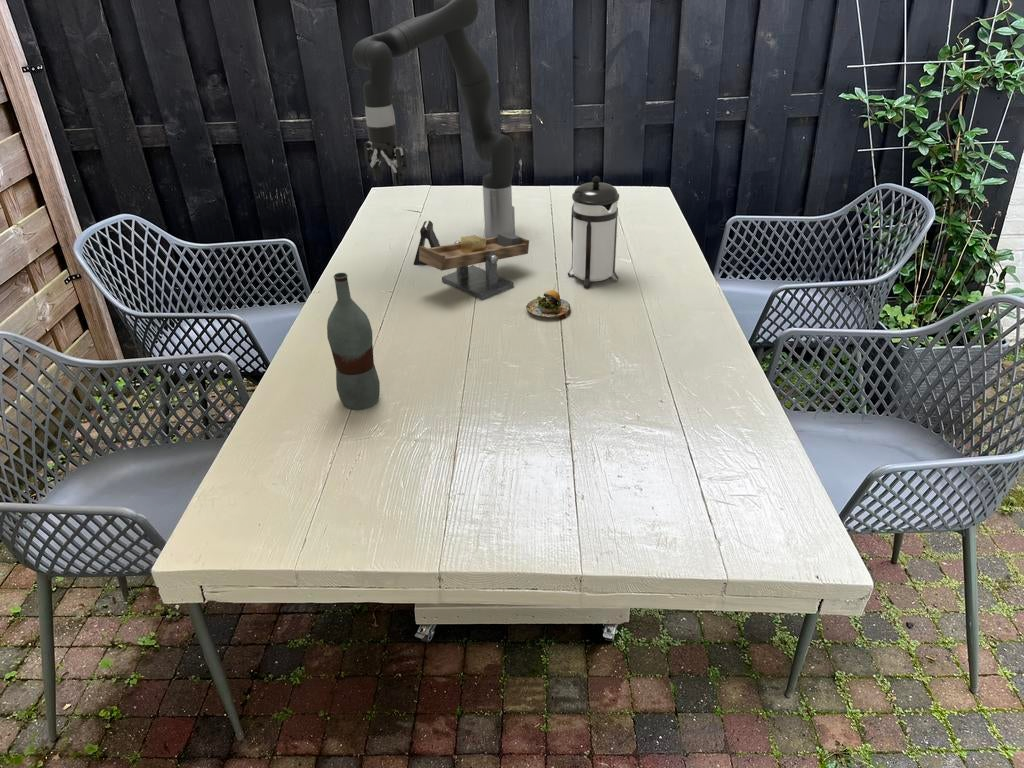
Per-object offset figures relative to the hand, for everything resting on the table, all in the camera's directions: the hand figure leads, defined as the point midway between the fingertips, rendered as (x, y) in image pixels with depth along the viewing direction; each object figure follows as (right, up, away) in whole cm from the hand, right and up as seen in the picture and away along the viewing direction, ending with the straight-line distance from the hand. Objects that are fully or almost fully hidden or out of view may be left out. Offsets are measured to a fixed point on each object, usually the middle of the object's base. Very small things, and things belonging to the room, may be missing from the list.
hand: (388, 182), depth 206 cm
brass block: (+23, -19, +3) cm, 30 cm away
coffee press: (+57, -25, +11) cm, 63 cm away
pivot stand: (+24, -27, +9) cm, 37 cm away
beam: (+24, -20, +4) cm, 31 cm away
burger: (+44, -37, -7) cm, 58 cm away
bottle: (+1, -60, -42) cm, 73 cm away
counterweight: (+33, -15, +11) cm, 38 cm away
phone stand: (+9, -18, +24) cm, 32 cm away
